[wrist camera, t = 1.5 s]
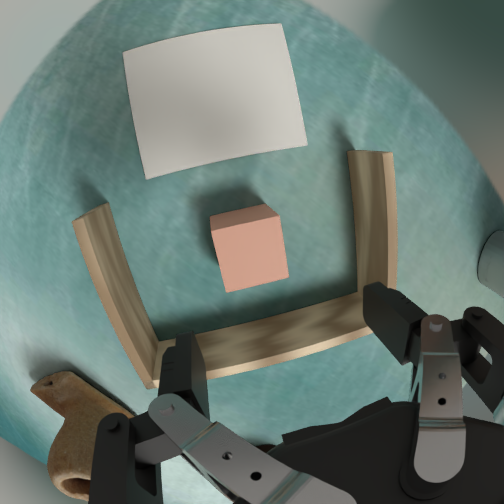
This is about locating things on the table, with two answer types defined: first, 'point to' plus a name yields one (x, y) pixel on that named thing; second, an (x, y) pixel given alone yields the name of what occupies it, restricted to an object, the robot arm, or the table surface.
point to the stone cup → (74, 429)
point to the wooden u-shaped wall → (264, 330)
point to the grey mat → (213, 97)
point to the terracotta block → (249, 247)
